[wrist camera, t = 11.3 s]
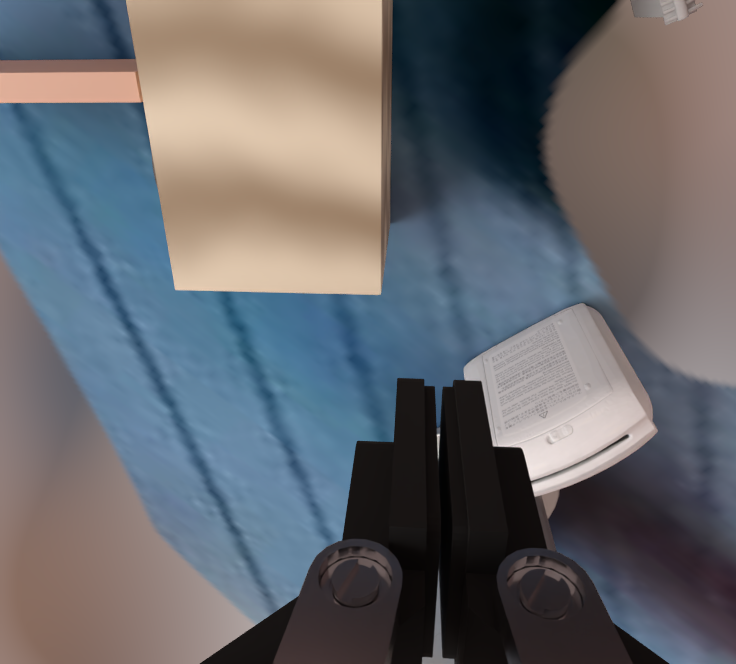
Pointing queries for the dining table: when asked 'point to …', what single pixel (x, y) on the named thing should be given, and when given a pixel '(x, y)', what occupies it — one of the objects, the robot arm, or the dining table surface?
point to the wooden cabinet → (270, 140)
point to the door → (69, 81)
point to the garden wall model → (664, 9)
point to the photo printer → (564, 398)
